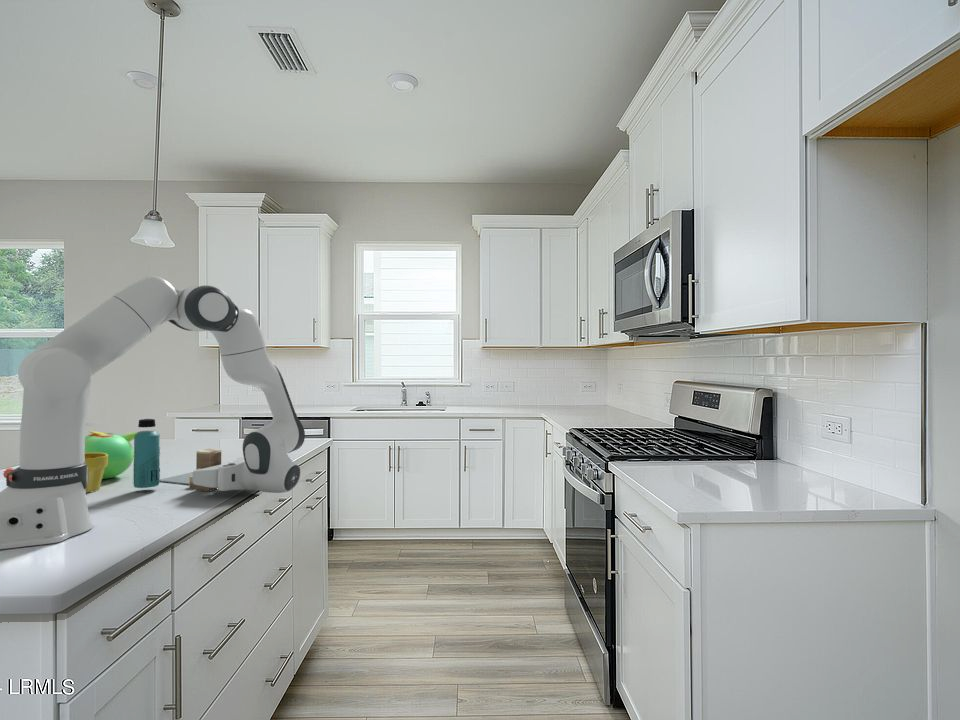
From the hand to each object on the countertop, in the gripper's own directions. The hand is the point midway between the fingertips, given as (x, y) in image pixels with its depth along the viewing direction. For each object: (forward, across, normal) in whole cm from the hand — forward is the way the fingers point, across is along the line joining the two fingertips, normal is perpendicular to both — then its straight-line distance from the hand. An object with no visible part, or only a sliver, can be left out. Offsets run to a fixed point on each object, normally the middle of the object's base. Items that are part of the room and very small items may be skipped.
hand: (206, 469), depth 161 cm
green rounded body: (+39, +1, +6) cm, 40 cm away
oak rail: (+4, -9, +6) cm, 11 cm away
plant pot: (+28, +14, +6) cm, 32 cm away
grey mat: (+13, -9, +6) cm, 17 cm away
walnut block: (-1, 0, +6) cm, 6 cm away
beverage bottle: (+13, +8, +6) cm, 16 cm away
